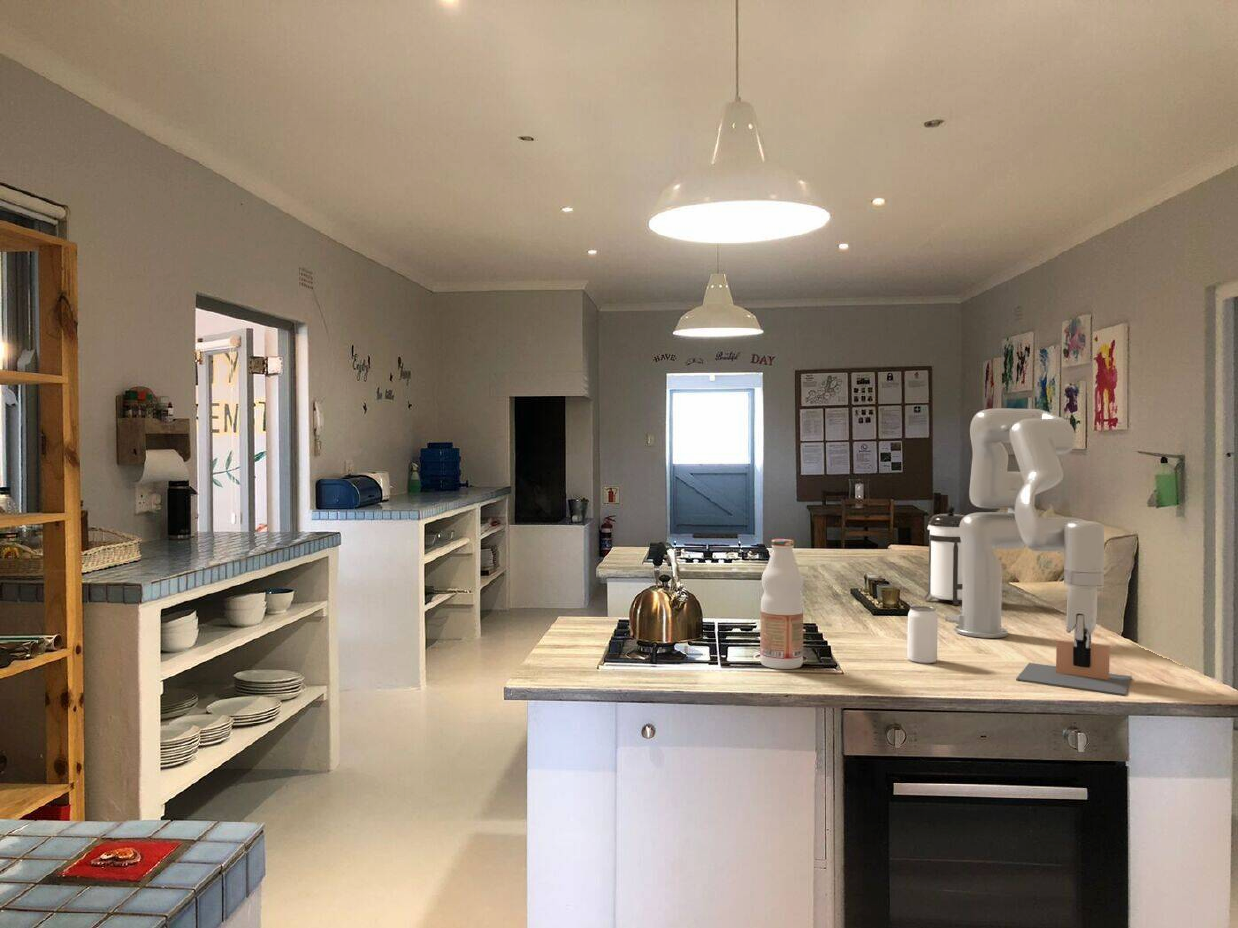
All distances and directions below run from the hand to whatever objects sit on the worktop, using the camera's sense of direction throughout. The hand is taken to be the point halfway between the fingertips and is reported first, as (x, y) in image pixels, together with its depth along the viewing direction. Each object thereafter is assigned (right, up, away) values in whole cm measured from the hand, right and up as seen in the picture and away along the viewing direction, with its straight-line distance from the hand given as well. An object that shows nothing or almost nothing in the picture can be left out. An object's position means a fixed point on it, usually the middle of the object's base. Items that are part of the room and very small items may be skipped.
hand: (1082, 664), depth 190 cm
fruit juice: (-62, -2, +10) cm, 63 cm away
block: (0, -2, 0) cm, 2 cm away
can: (-29, -2, +14) cm, 33 cm away
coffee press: (+6, -1, +88) cm, 88 cm away
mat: (-3, -3, -2) cm, 4 cm away
